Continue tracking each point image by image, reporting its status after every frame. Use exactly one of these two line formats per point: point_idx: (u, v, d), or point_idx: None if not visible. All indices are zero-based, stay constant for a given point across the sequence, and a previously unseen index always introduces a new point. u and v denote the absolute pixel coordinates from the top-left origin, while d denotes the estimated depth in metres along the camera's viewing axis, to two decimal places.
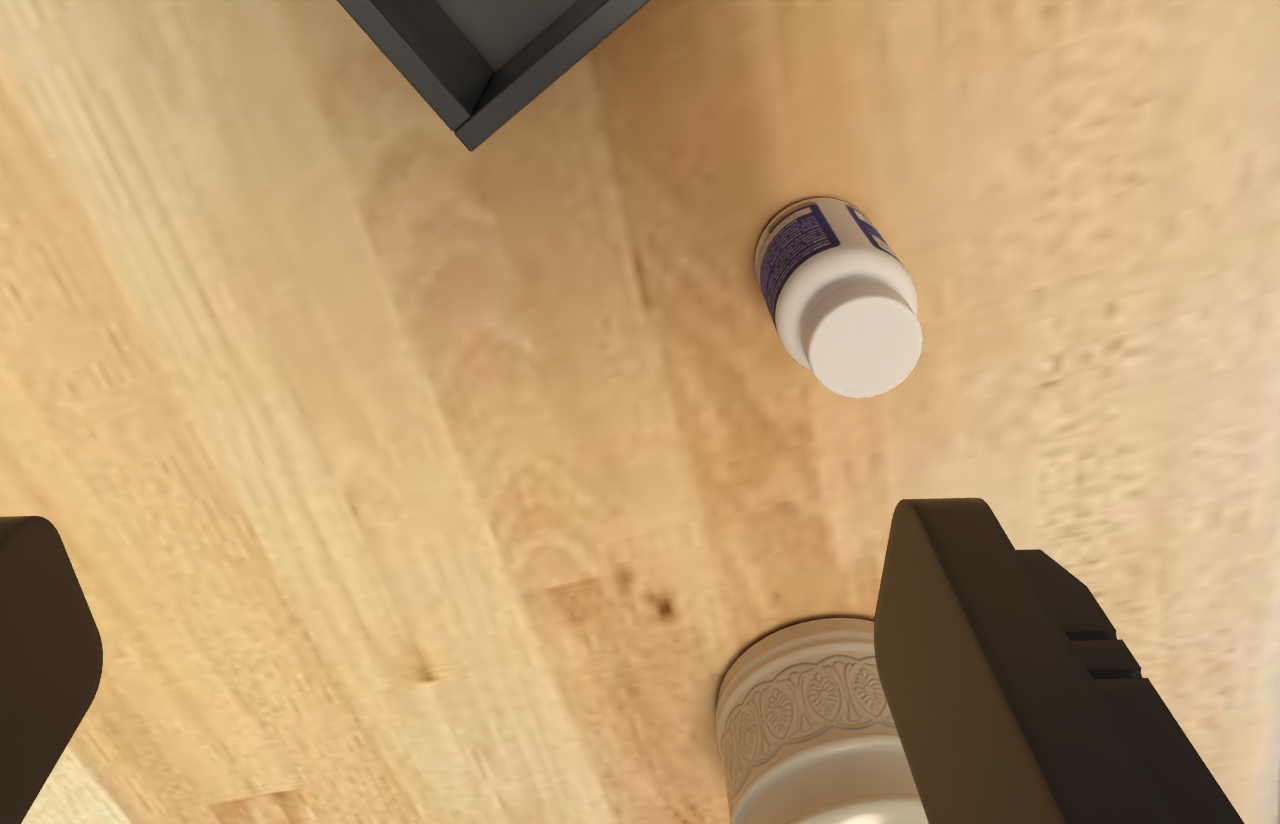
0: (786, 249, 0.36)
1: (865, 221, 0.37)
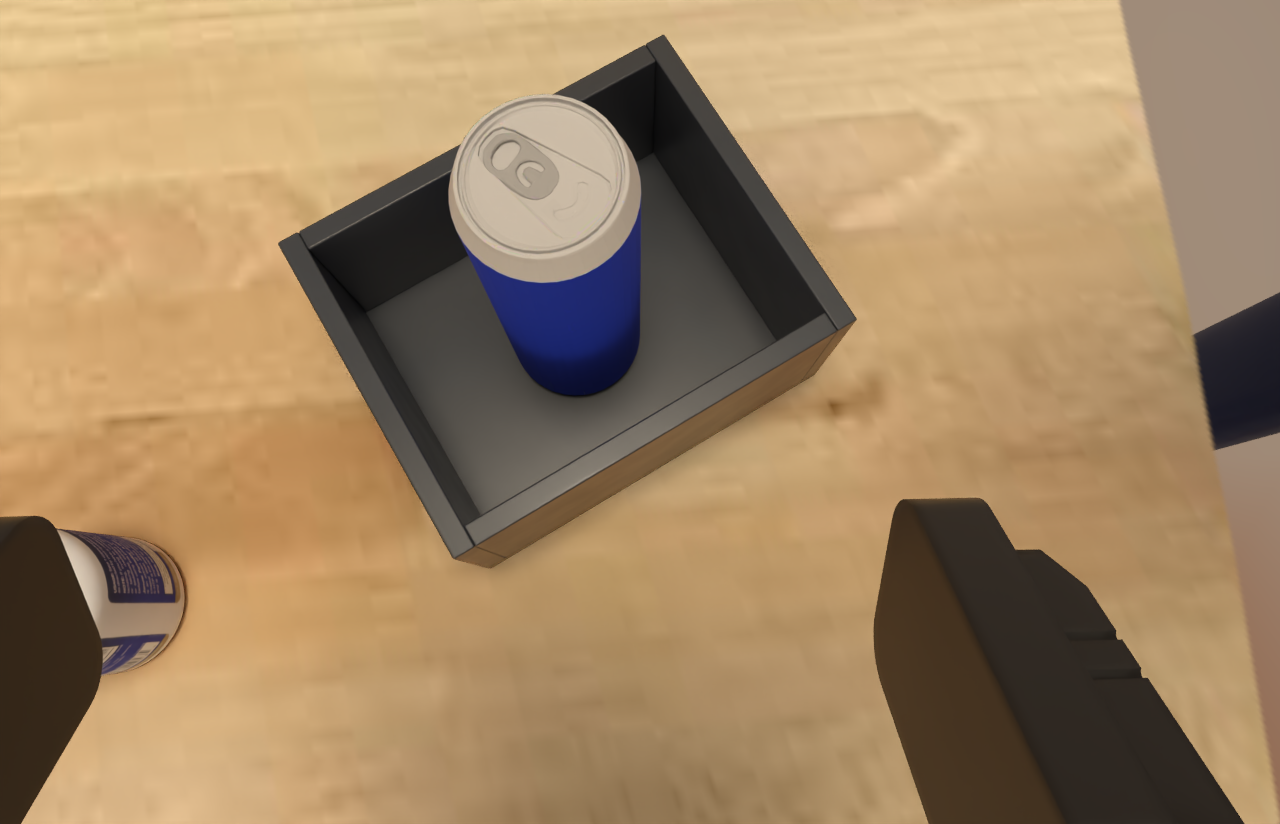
0: (124, 554, 0.34)
1: (140, 649, 0.35)
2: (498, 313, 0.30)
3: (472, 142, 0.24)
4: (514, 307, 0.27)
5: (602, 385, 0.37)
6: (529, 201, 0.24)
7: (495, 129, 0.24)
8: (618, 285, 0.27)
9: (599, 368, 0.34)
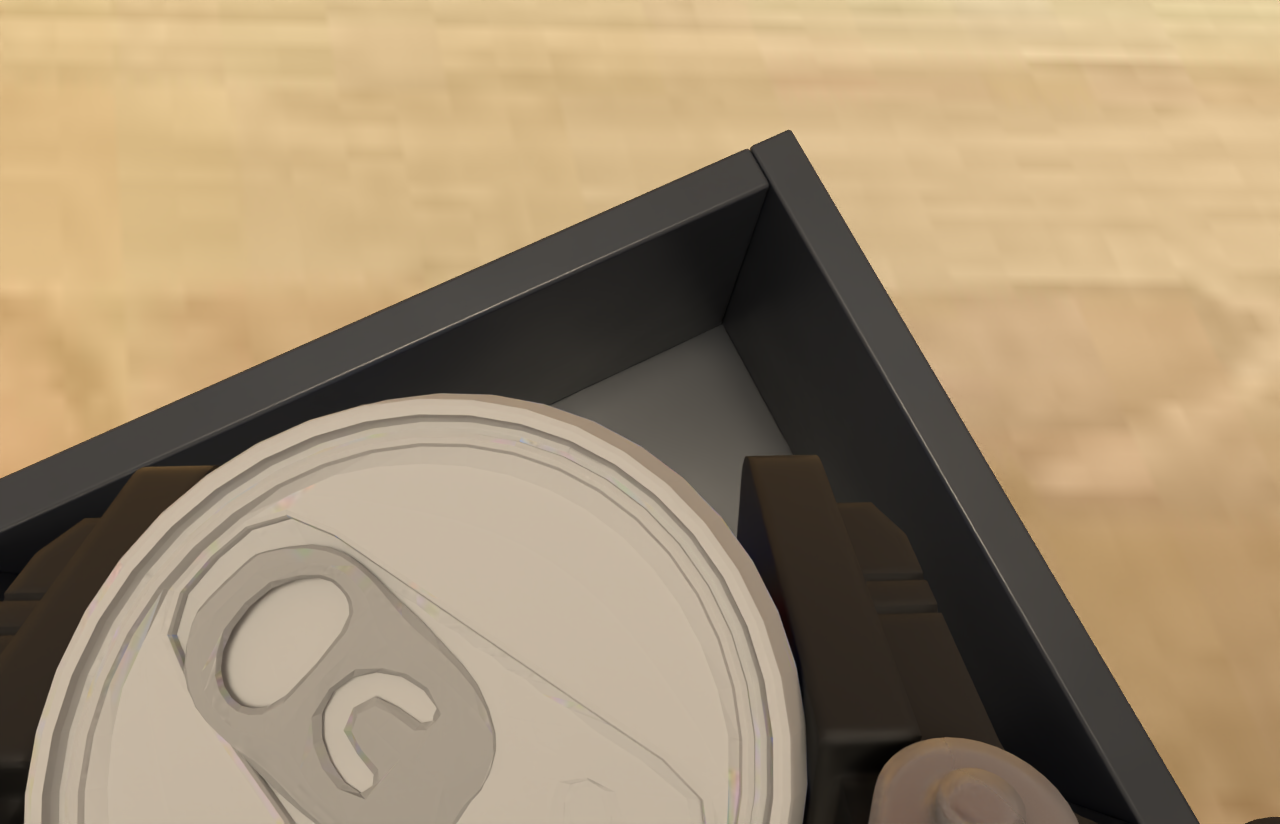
0: None
1: None
2: None
3: (155, 578, 0.06)
4: None
5: None
6: None
7: (259, 523, 0.06)
8: None
9: None
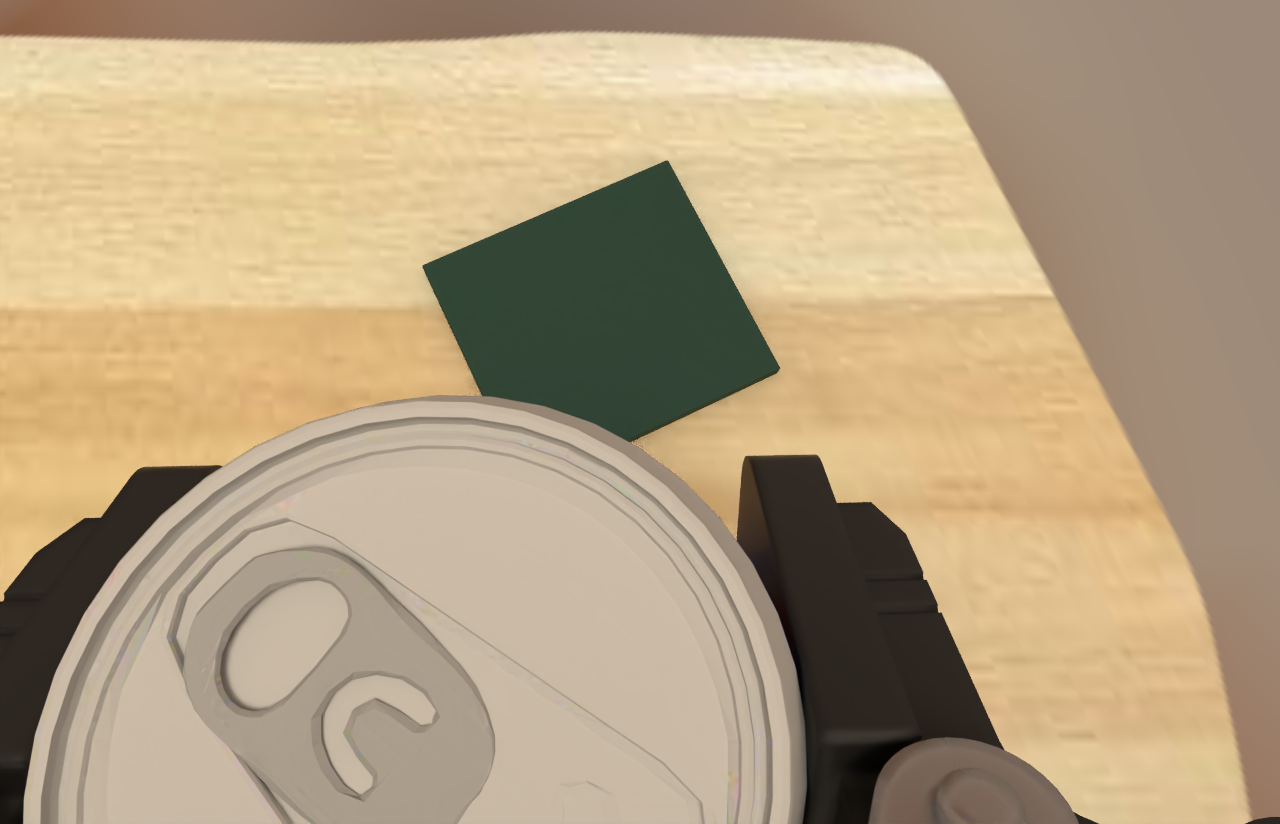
0: None
1: None
2: None
3: (155, 582, 0.06)
4: None
5: None
6: None
7: (259, 525, 0.06)
8: None
9: None
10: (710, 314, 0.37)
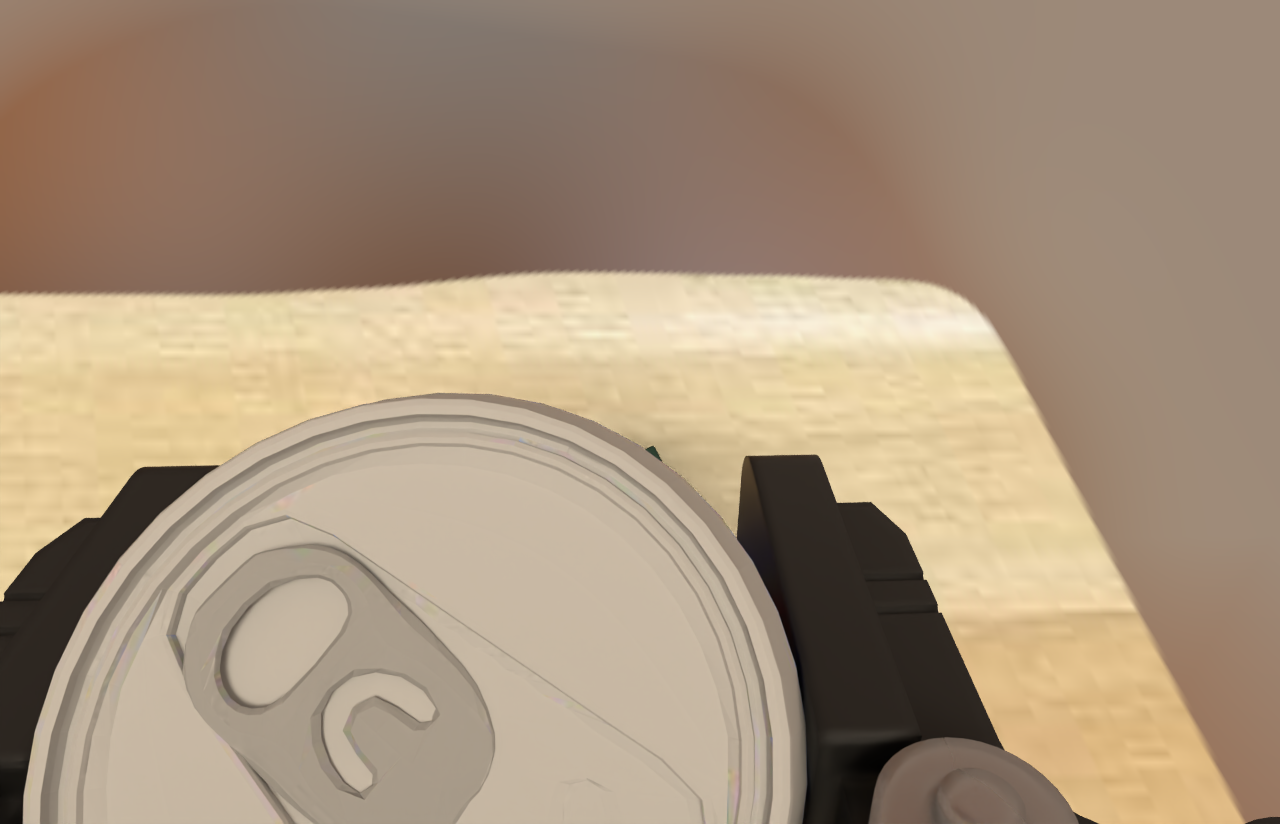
0: None
1: None
2: None
3: (155, 578, 0.06)
4: None
5: None
6: None
7: (259, 523, 0.06)
8: None
9: None
10: None
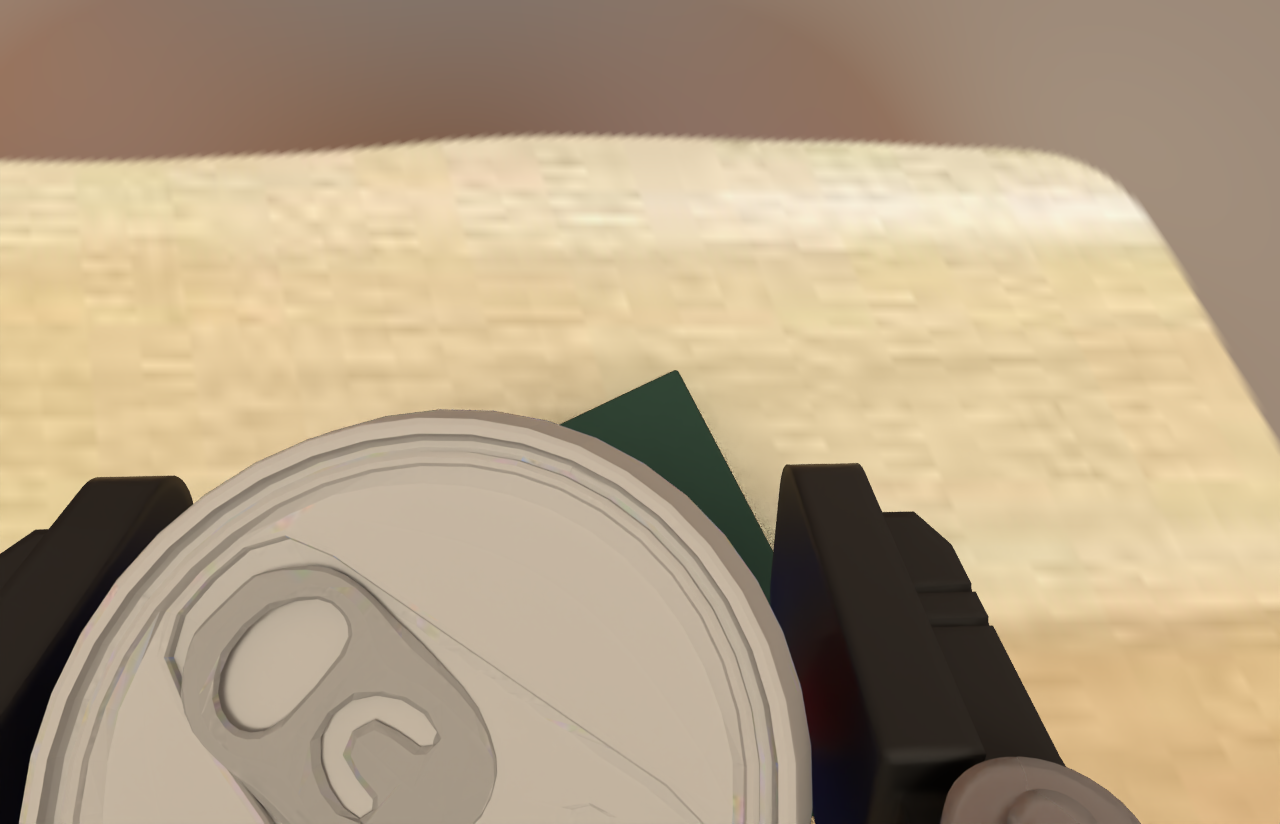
0: None
1: None
2: None
3: (152, 600, 0.06)
4: None
5: None
6: None
7: (258, 543, 0.06)
8: None
9: None
10: None
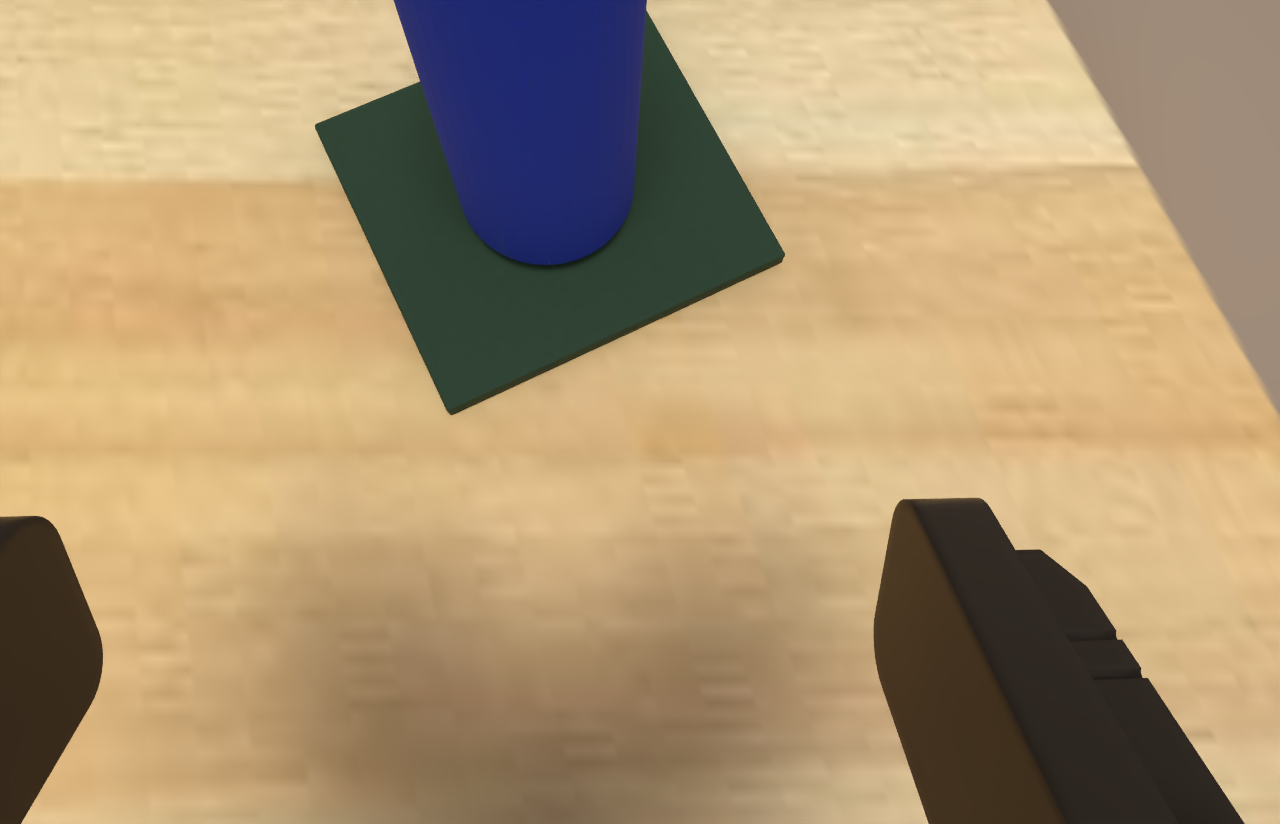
0: None
1: None
2: (420, 69, 0.20)
3: None
4: (435, 15, 0.17)
5: (575, 250, 0.26)
6: None
7: None
8: None
9: (571, 206, 0.24)
10: (693, 186, 0.28)
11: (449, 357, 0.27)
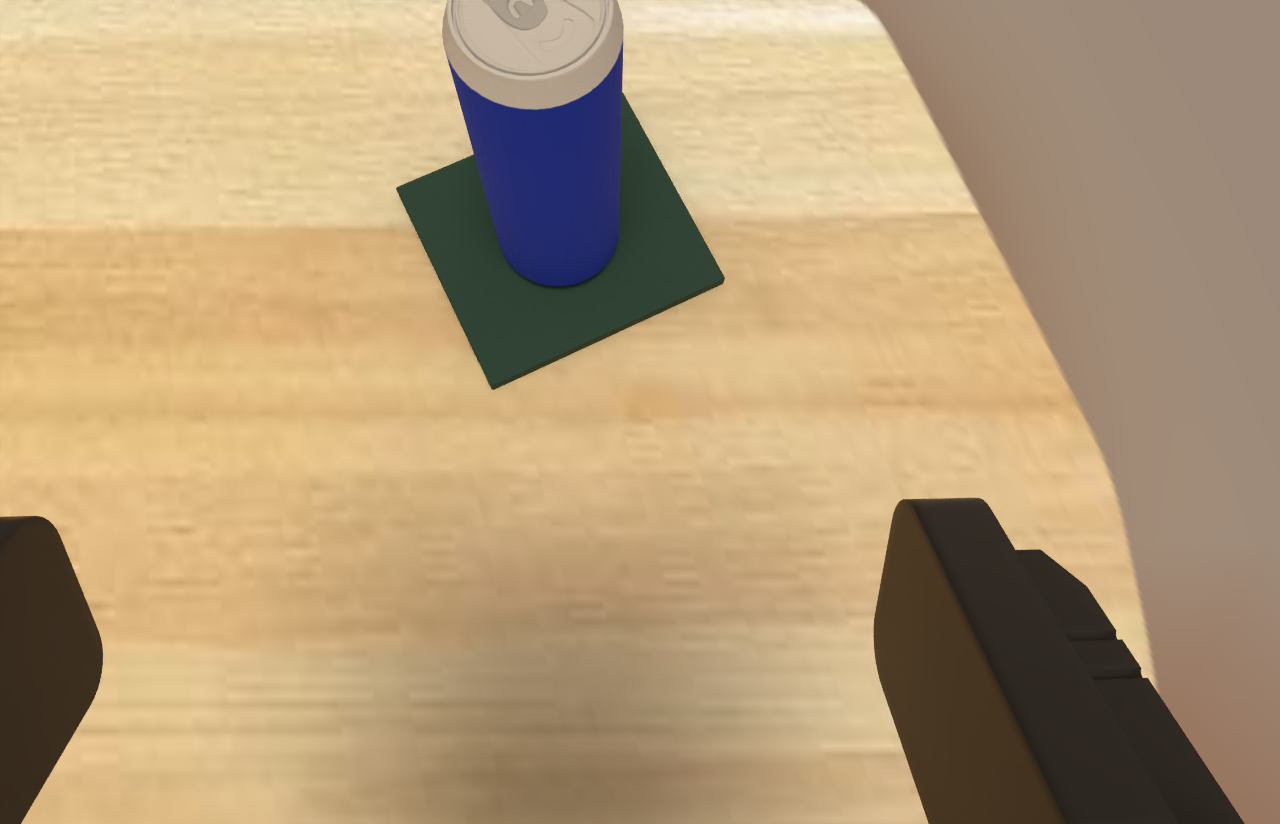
0: None
1: None
2: (482, 170, 0.32)
3: None
4: (496, 149, 0.29)
5: (578, 276, 0.38)
6: (517, 31, 0.26)
7: None
8: (596, 137, 0.29)
9: (575, 249, 0.36)
10: (661, 230, 0.40)
11: (492, 349, 0.39)
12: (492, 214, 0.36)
